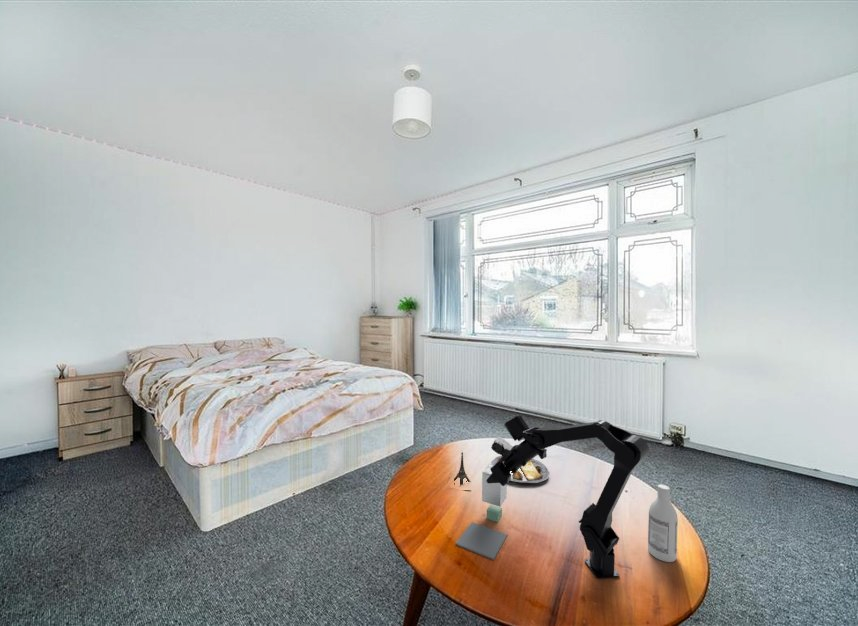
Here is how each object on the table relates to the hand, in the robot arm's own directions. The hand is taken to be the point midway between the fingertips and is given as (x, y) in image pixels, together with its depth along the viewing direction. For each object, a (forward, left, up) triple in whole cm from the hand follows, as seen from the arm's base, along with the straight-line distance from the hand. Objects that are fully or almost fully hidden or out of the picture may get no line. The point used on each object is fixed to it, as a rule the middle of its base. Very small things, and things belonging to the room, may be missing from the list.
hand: (490, 477), depth 118 cm
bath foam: (-22, -45, -13) cm, 52 cm away
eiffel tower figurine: (+24, +6, -14) cm, 29 cm away
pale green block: (-1, -1, -13) cm, 14 cm away
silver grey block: (-1, -1, -7) cm, 7 cm away
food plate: (+30, -21, -14) cm, 39 cm away
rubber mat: (-12, +6, -13) cm, 19 cm away
